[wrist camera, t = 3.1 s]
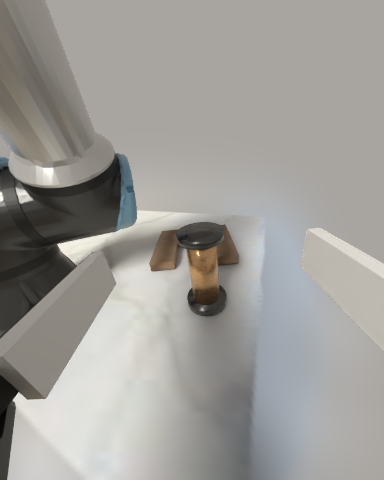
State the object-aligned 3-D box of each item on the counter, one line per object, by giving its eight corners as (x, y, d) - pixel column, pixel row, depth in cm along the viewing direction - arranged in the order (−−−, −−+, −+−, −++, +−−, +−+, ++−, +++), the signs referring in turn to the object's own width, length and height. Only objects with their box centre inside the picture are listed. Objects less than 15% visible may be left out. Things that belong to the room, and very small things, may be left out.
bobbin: (187, 317, 24) (173, 244, 19) (188, 288, 30) (178, 224, 24) (229, 314, 24) (227, 239, 19) (223, 285, 29) (220, 220, 24)
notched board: (151, 271, 36) (149, 263, 35) (163, 237, 50) (162, 231, 49) (238, 263, 35) (238, 254, 34) (225, 231, 49) (224, 224, 48)
